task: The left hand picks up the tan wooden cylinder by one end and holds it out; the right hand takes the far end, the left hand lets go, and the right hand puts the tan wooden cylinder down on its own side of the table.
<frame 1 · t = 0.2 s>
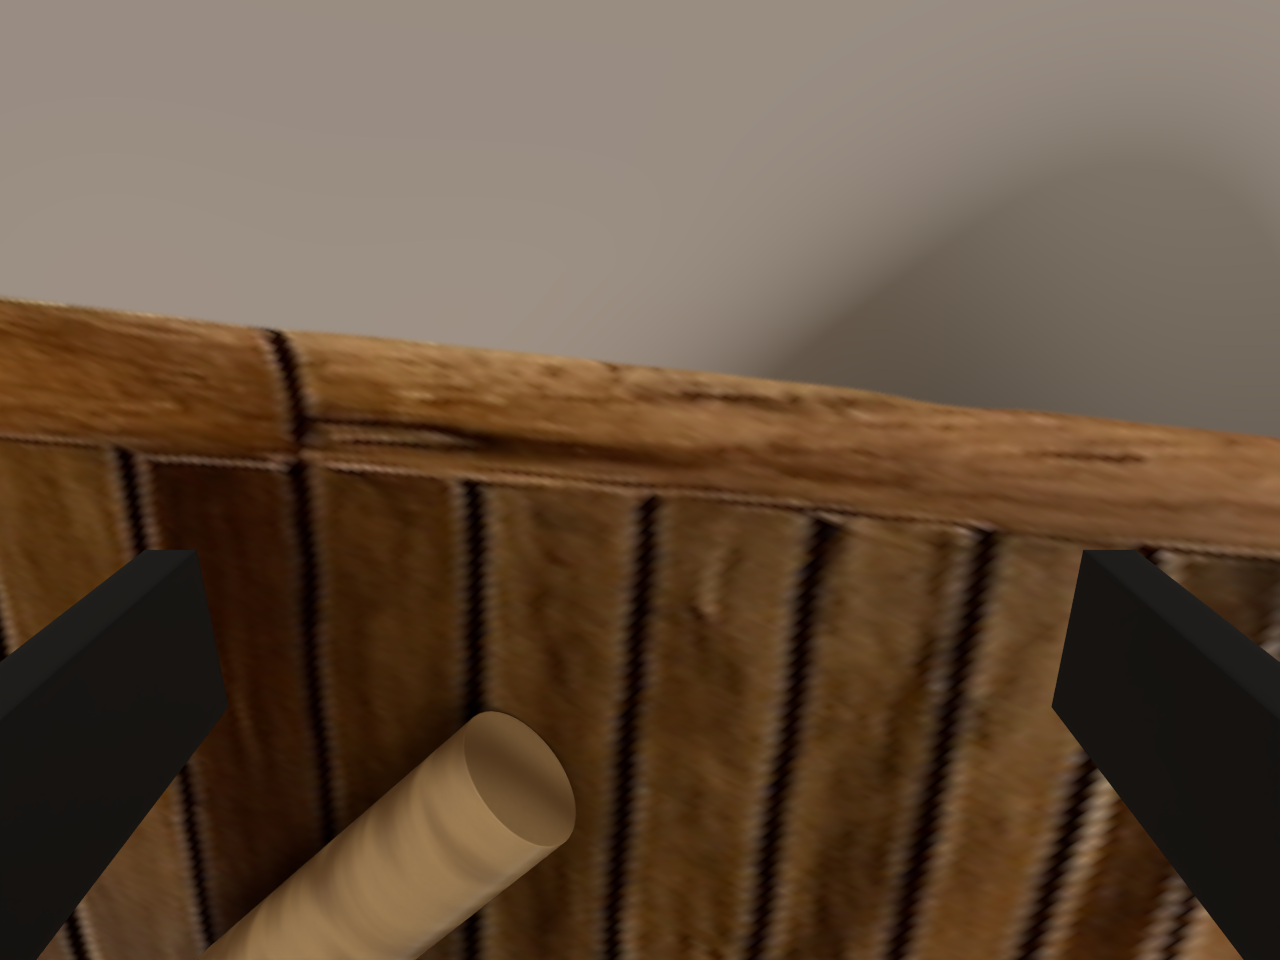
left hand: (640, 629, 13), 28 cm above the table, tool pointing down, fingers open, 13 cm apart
tan wooden cylinder: (396, 841, 49), on the table
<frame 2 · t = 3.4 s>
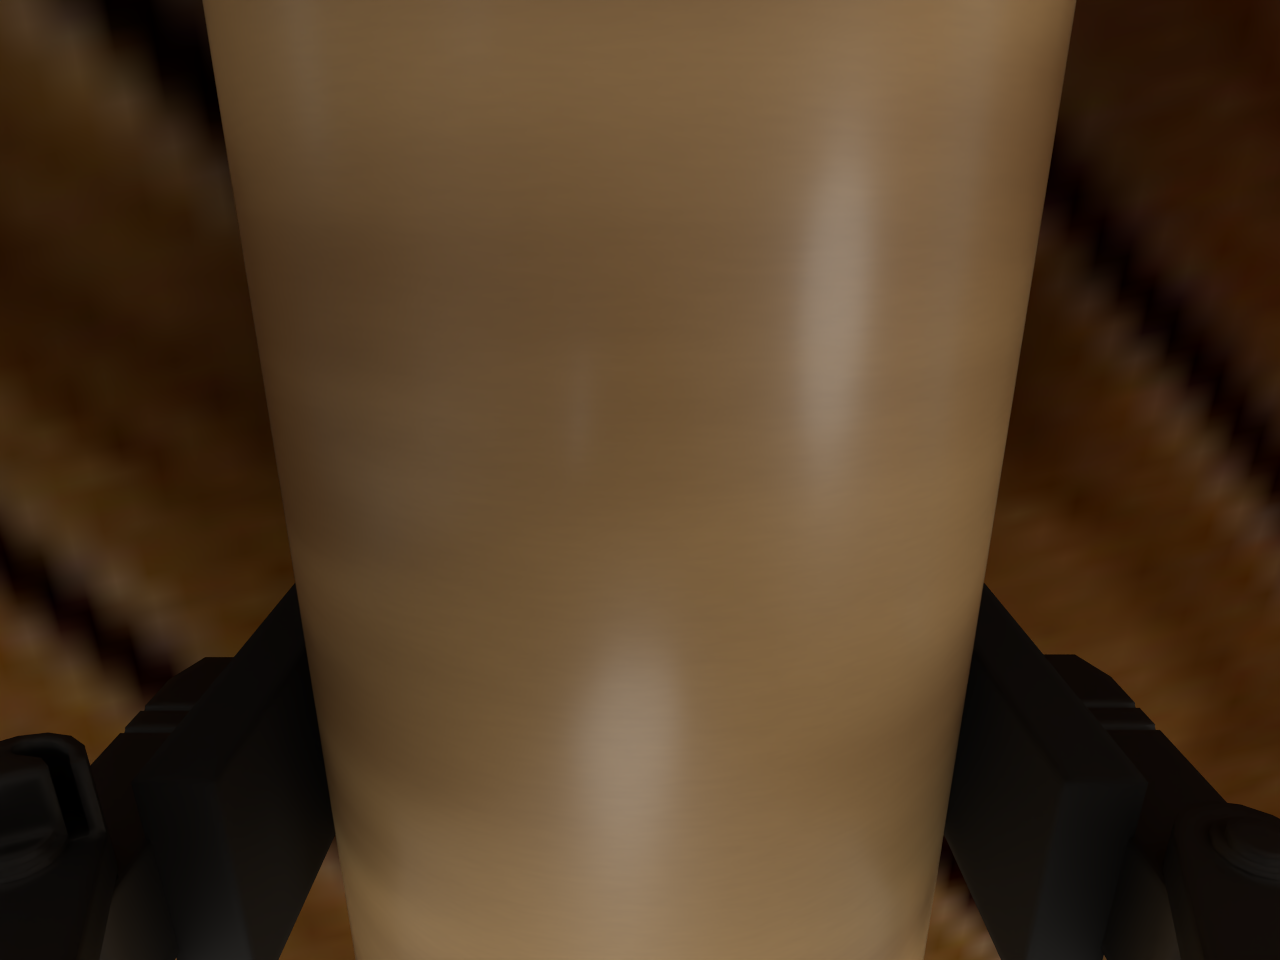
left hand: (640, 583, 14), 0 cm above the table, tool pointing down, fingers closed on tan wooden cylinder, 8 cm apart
tan wooden cylinder: (639, 106, 12), on the table, touching left hand
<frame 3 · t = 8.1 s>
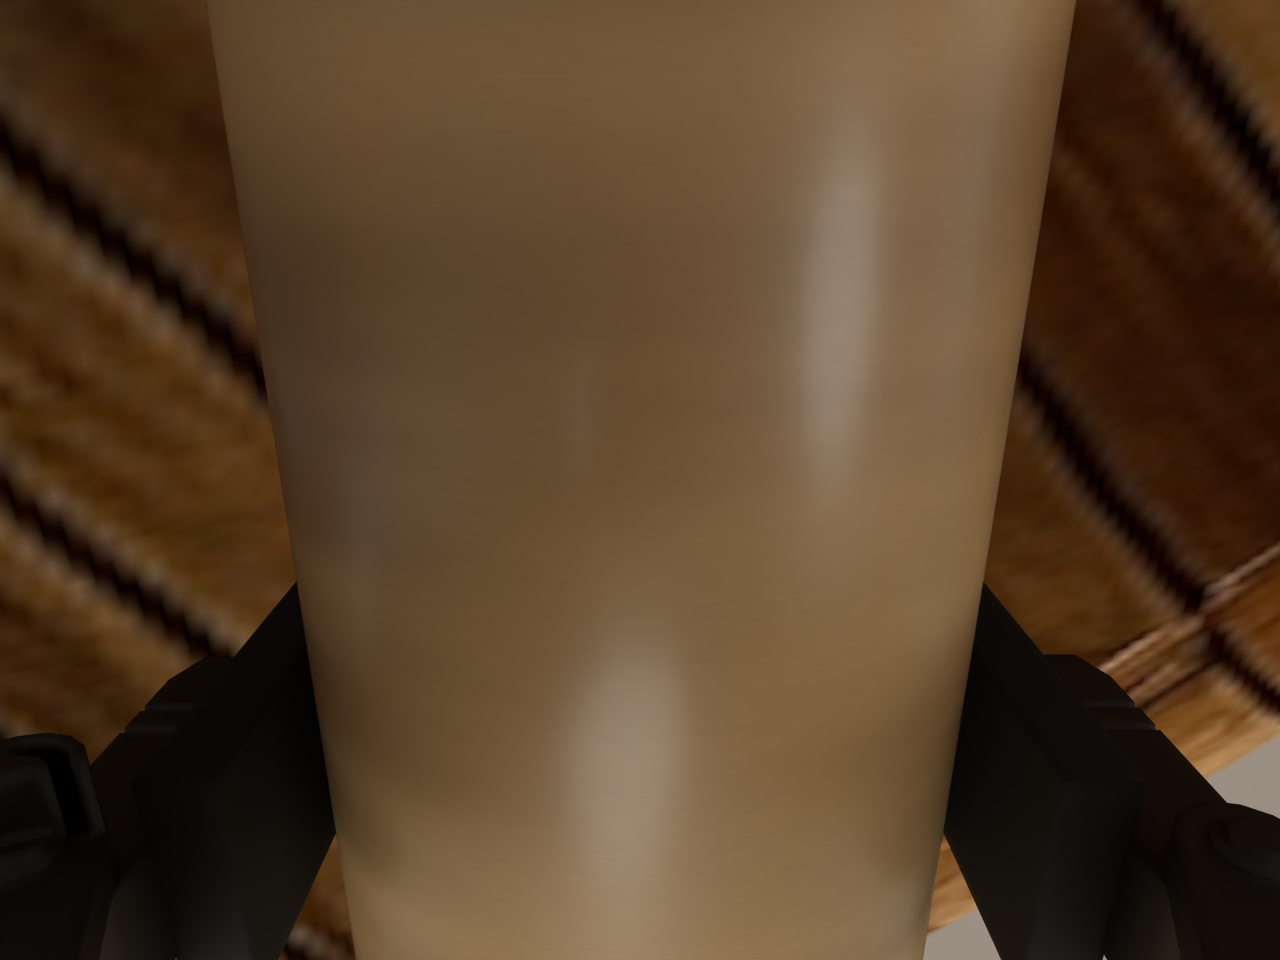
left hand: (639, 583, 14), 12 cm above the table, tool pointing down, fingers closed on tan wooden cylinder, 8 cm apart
tan wooden cylinder: (640, 108, 12), point 12 cm above the table, touching left hand, right hand
when the left hand's fingers open (12 cm above the table, at t = 8.9 s): tan wooden cylinder stays where it is, held by the right hand.
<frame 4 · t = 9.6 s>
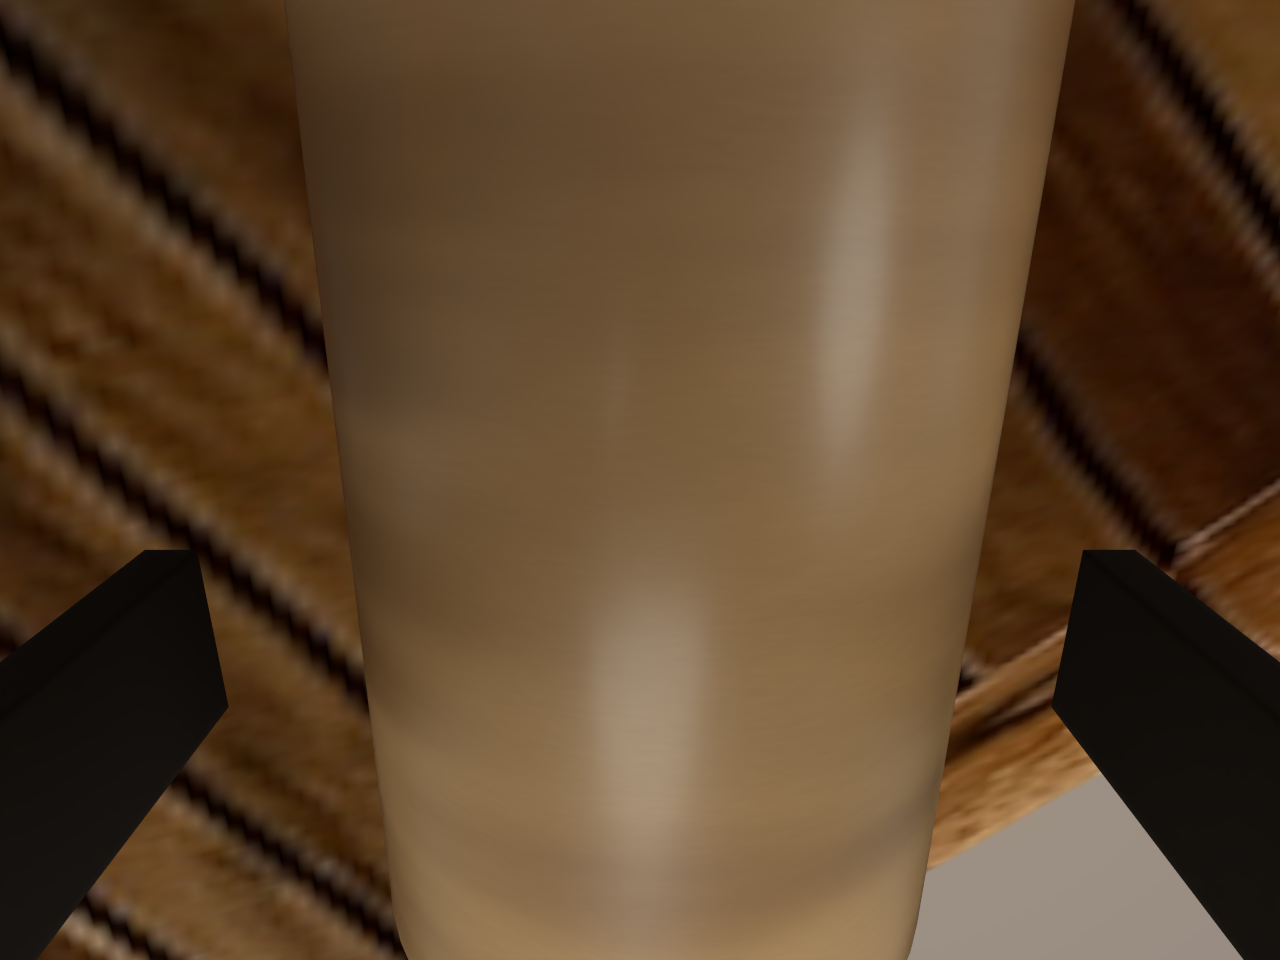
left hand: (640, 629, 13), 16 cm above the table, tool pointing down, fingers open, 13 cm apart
tan wooden cylinder: (667, 35, 12), point 14 cm above the table, touching right hand
when the right hand's fingers open (2 cm above the table, at t = 14.0 s): tan wooden cylinder drops 1 cm, on the table.
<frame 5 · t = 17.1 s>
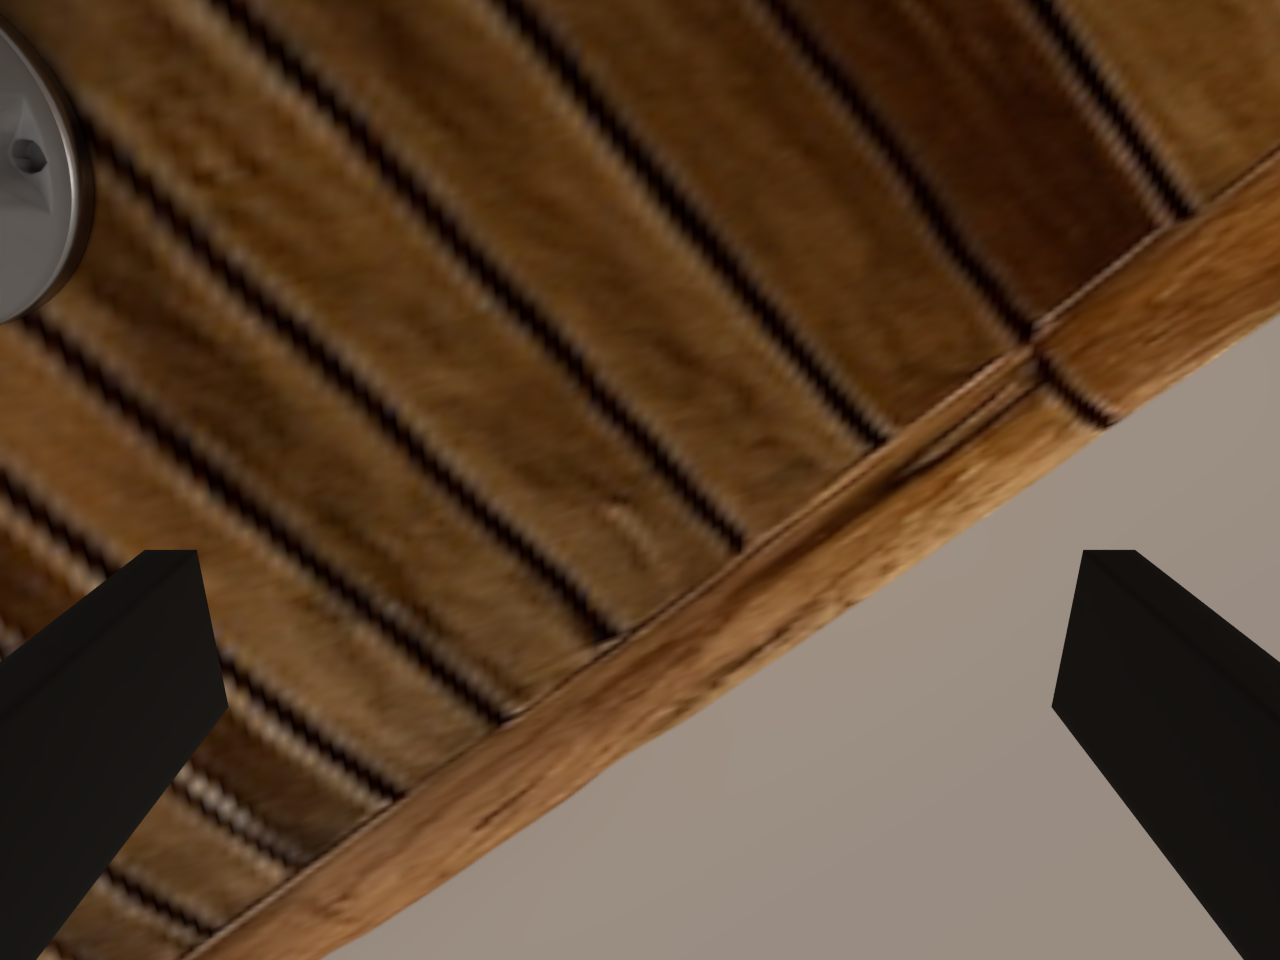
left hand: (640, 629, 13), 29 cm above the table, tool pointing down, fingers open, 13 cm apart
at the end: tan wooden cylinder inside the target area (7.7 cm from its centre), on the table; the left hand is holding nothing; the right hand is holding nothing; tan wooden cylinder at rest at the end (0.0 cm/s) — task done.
